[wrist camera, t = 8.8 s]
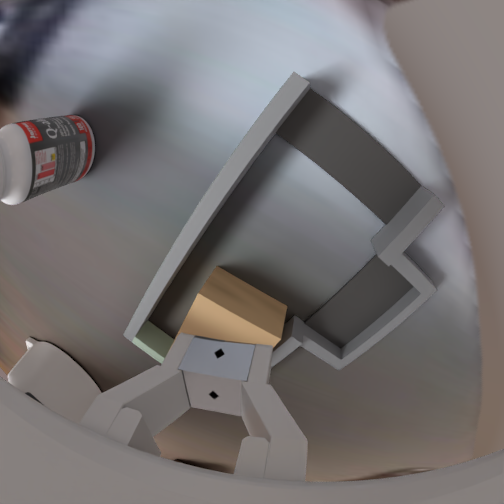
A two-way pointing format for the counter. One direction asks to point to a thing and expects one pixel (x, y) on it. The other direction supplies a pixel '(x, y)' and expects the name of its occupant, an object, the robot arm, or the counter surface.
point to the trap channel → (361, 186)
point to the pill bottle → (43, 156)
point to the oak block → (234, 312)
